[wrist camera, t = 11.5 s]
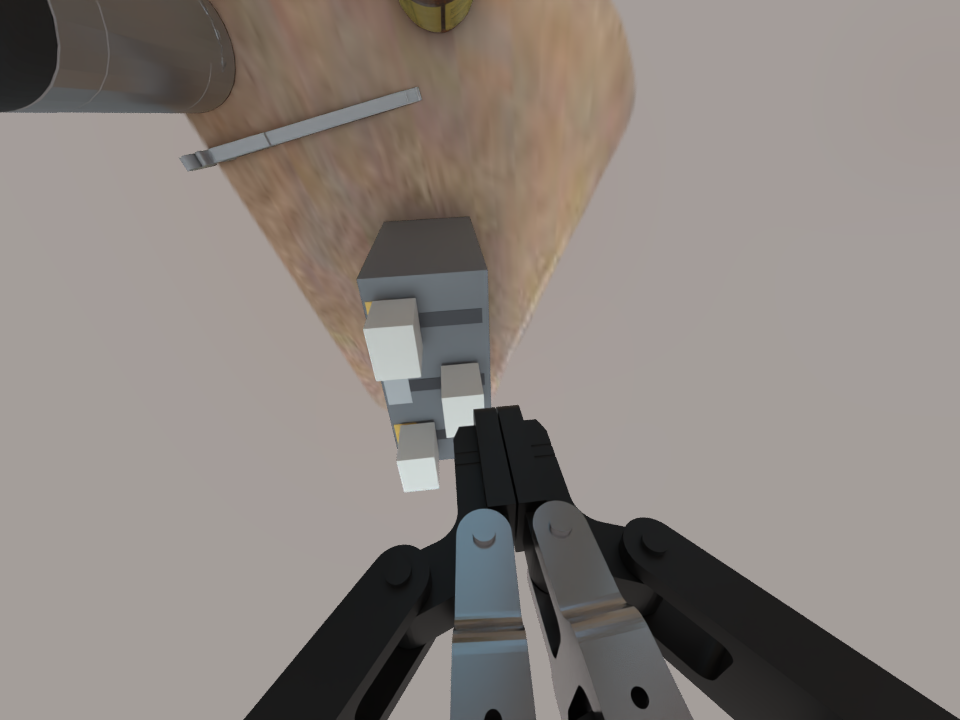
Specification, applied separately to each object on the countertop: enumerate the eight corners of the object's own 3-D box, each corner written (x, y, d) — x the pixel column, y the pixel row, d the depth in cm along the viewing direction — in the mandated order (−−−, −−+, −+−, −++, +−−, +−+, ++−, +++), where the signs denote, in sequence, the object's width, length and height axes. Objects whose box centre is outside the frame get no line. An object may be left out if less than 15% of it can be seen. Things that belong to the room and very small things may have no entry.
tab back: (407, 456, 34) (404, 492, 31) (400, 425, 32) (396, 461, 29) (438, 452, 34) (439, 488, 31) (434, 422, 32) (434, 457, 29)
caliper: (214, 167, 34) (174, 176, 29) (206, 153, 33) (164, 161, 28) (422, 100, 33) (420, 97, 28) (418, 85, 32) (414, 80, 27)
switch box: (410, 369, 49) (401, 464, 35) (383, 221, 38) (356, 279, 25) (476, 363, 49) (492, 455, 36) (469, 216, 38) (487, 270, 25)
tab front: (383, 349, 27) (376, 381, 24) (372, 301, 25) (363, 329, 22) (422, 346, 28) (421, 377, 24) (415, 297, 25) (412, 325, 22)
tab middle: (445, 403, 31) (446, 438, 28) (440, 366, 29) (441, 398, 26) (480, 400, 31) (485, 434, 28) (478, 362, 29) (483, 394, 26)
